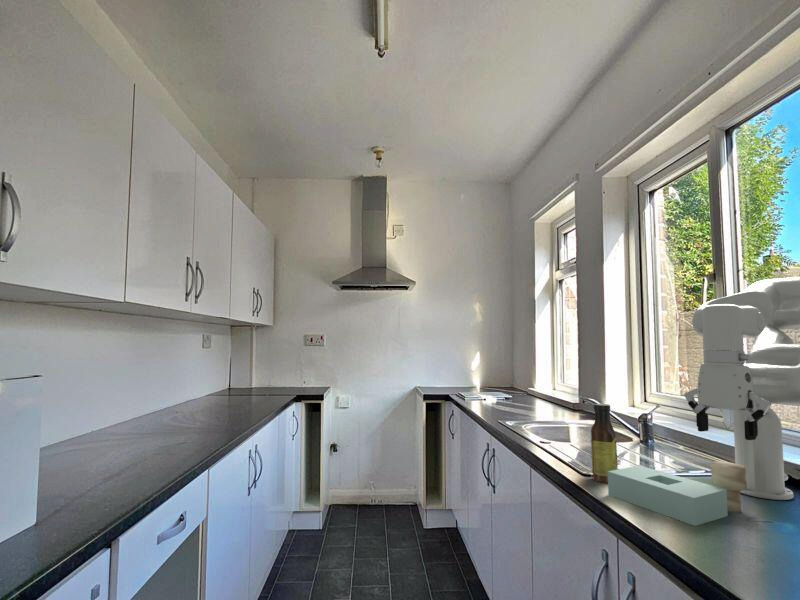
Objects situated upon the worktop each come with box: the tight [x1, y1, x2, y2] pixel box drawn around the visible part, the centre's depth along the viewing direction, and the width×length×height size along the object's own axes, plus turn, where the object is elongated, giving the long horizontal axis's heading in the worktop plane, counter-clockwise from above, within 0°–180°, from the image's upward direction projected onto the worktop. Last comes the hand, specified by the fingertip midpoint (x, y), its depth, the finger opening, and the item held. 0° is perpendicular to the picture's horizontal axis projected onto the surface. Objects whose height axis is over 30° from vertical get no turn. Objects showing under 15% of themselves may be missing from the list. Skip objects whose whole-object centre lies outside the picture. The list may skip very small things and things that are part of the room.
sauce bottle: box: [590, 403, 619, 484], centre depth 121 cm, size 6×6×20 cm
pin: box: [710, 460, 747, 513], centre depth 101 cm, size 6×6×10 cm
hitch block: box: [607, 465, 729, 527], centre depth 103 cm, size 12×20×6 cm, turn 28°
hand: (725, 435), depth 102 cm, fingers open, 9 cm apart
